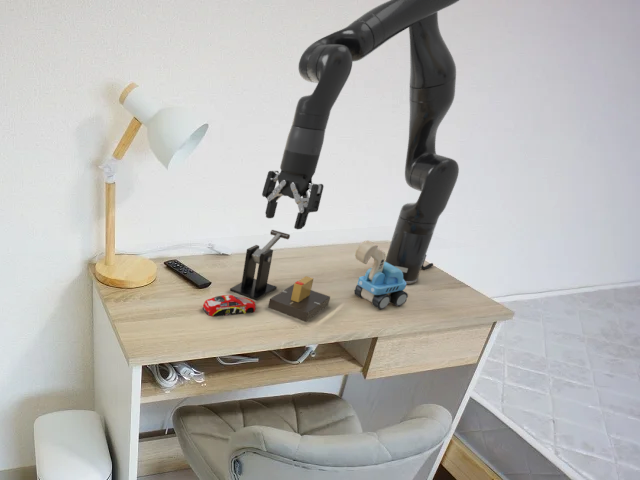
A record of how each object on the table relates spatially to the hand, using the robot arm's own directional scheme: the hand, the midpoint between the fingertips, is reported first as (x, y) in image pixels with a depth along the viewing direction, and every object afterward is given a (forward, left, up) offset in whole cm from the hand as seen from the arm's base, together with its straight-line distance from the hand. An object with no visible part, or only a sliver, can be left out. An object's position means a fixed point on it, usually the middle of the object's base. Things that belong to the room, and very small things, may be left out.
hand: (283, 223), depth 118 cm
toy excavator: (-19, +18, -21) cm, 34 cm away
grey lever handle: (-8, -6, -11) cm, 14 cm away
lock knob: (-3, +7, -18) cm, 19 cm away
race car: (+11, -4, -21) cm, 24 cm away
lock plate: (-3, +7, -21) cm, 22 cm away
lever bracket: (-3, -6, -21) cm, 22 cm away
